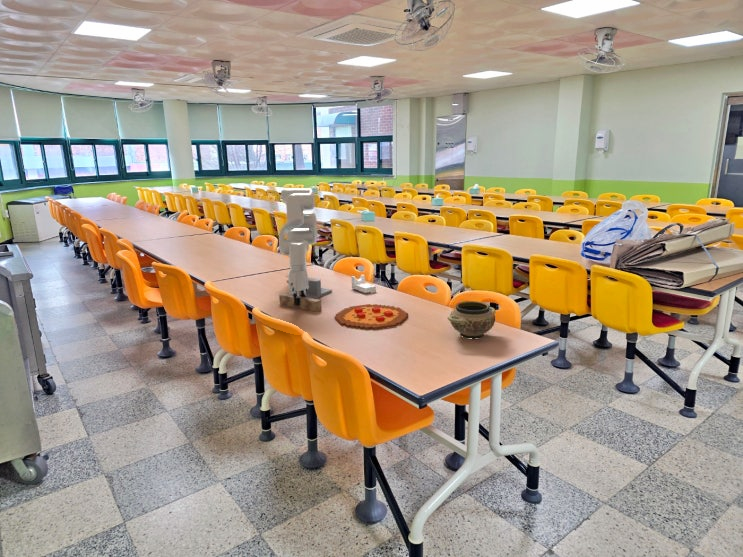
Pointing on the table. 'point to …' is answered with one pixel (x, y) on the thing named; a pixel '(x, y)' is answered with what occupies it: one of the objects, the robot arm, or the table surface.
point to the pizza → (371, 316)
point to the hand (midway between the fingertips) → (300, 303)
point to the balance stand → (315, 289)
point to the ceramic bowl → (472, 319)
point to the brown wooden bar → (301, 302)
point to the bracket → (362, 285)
